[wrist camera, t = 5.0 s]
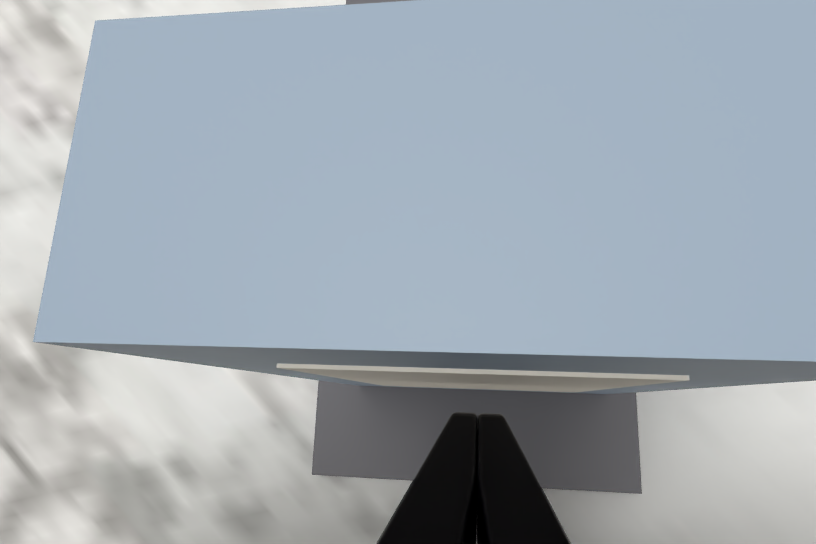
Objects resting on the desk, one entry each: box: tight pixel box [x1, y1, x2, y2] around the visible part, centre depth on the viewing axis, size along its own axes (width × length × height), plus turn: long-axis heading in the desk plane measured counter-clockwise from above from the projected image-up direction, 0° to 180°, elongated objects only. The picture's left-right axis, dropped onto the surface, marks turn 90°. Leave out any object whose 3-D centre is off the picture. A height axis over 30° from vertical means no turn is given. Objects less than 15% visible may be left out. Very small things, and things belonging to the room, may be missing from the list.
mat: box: [312, 0, 642, 494], centre depth 17 cm, size 16×9×1 cm, turn 178°
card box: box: [33, 0, 816, 394], centre depth 10 cm, size 3×7×12 cm, turn 88°
